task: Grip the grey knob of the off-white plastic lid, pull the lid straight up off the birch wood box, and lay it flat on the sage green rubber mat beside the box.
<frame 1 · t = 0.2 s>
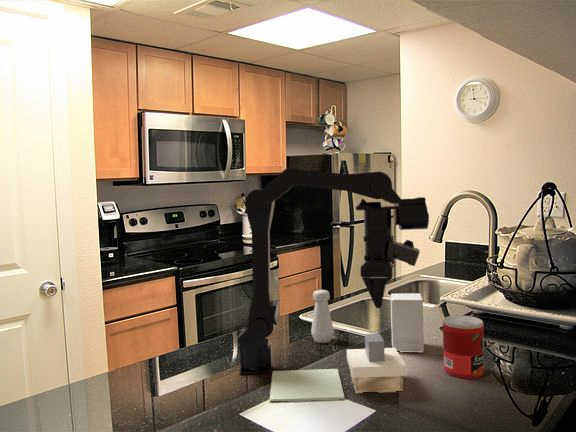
hand: (379, 302, 106), 14 cm above the countertop, fingers open, 9 cm apart
salt shaker: (322, 341, 127), on the countertop
supplement box: (407, 348, 118), on the countertop
mat: (306, 385, 99), on the countertop
lid: (374, 361, 98), point 4 cm above the countertop, touching box
canned food: (463, 373, 102), on the countertop
box: (375, 382, 99), on the countertop
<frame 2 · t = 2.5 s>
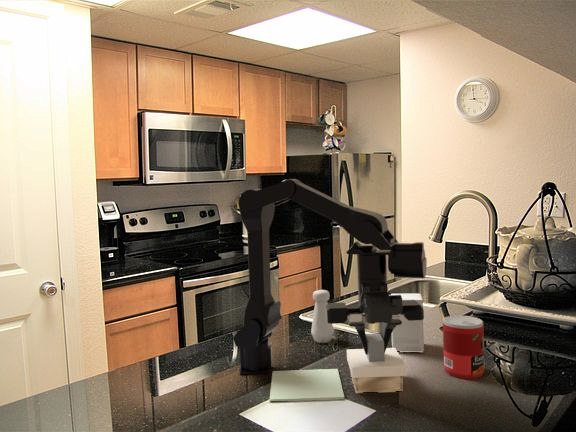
hand: (374, 353, 98), 6 cm above the countertop, fingers closed on lid, 3 cm apart
lid: (374, 361, 98), point 4 cm above the countertop, touching box, gripper
everything else where it was.
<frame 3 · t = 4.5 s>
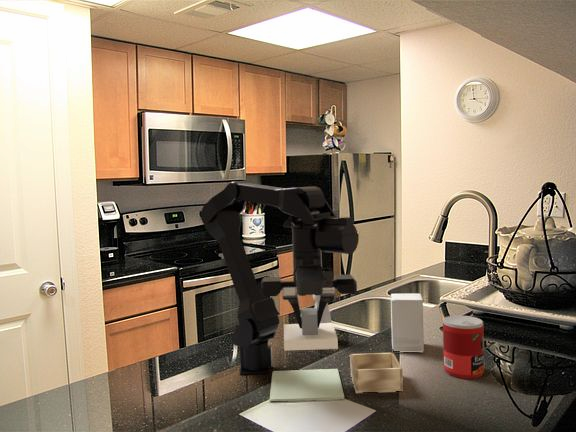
hand: (309, 327, 98), 12 cm above the countertop, fingers closed on lid, 3 cm apart
lid: (309, 334, 98), point 10 cm above the countertop, touching gripper
everything else where it was.
when the fingers open (5 cm above the countertop, at t = 6.6 s): lid drops 2 cm, resting on mat.
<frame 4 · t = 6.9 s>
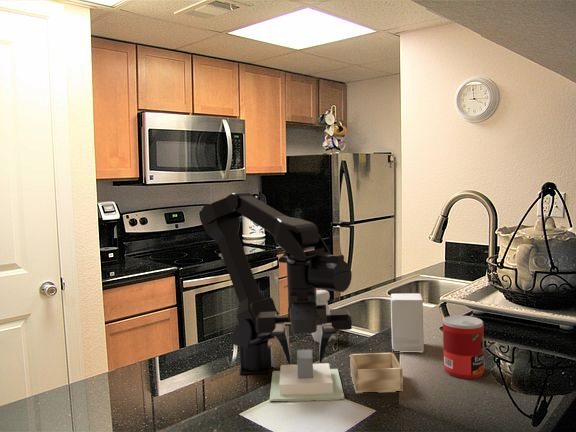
hand: (305, 362, 99), 5 cm above the countertop, fingers open, 6 cm apart
lid: (305, 377, 99), point 2 cm above the countertop, touching mat
everything else where it was.
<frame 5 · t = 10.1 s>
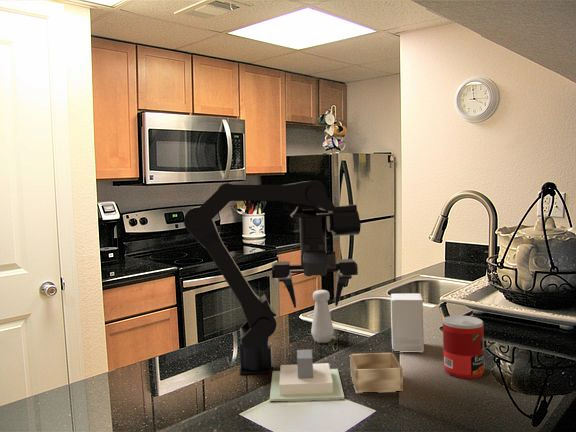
hand: (315, 306, 110), 13 cm above the countertop, fingers open, 9 cm apart
nothing on the countertop moved.
at the end: lid inside the target area on the mat (0.0 cm from its centre), point 1.7 cm above the mat's base; lid tilted 0°; the gripper is holding nothing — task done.
